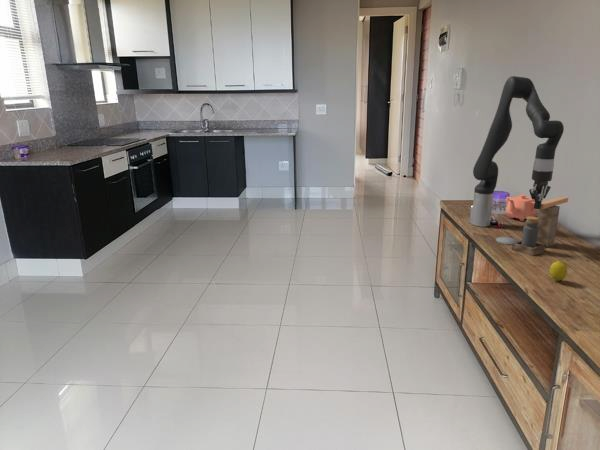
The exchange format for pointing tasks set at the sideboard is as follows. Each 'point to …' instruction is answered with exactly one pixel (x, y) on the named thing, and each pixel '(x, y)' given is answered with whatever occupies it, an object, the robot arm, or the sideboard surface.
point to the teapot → (520, 207)
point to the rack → (542, 231)
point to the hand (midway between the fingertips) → (537, 208)
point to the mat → (506, 240)
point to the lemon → (558, 270)
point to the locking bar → (553, 202)
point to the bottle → (530, 232)
